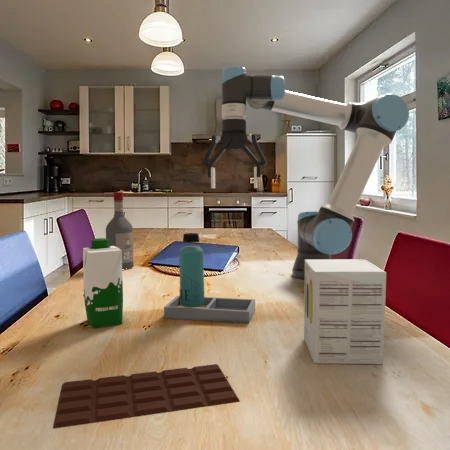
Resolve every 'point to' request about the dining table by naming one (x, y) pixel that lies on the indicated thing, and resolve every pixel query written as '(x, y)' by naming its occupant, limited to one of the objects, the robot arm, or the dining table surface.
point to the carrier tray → (213, 310)
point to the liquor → (121, 232)
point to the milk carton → (103, 283)
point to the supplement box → (344, 311)
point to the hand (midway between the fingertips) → (234, 188)
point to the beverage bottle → (191, 273)
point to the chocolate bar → (141, 395)
